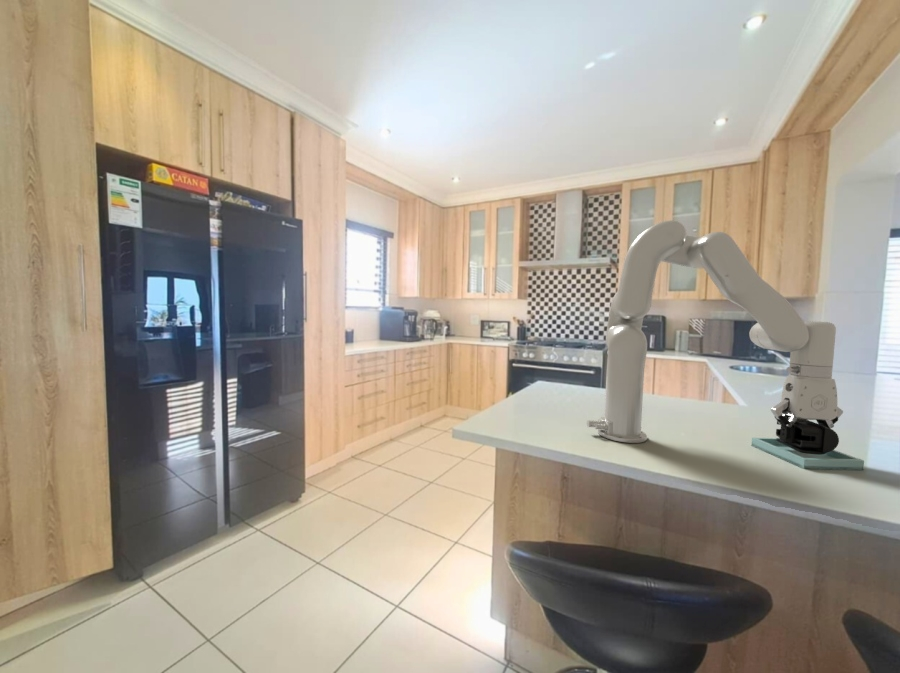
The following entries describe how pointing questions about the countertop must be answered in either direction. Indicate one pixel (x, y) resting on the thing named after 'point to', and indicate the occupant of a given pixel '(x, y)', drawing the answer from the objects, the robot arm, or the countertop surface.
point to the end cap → (811, 438)
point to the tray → (808, 456)
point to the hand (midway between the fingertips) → (804, 441)
